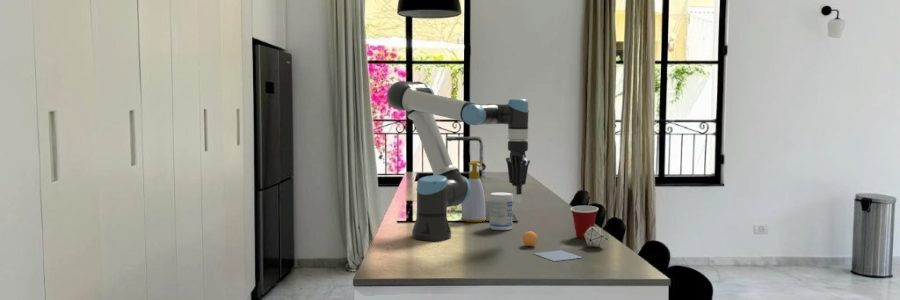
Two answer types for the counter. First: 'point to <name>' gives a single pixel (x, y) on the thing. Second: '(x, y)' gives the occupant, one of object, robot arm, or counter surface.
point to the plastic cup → (583, 219)
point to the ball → (529, 238)
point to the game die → (594, 236)
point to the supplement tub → (501, 211)
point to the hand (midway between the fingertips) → (516, 202)
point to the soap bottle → (474, 198)
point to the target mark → (557, 255)
